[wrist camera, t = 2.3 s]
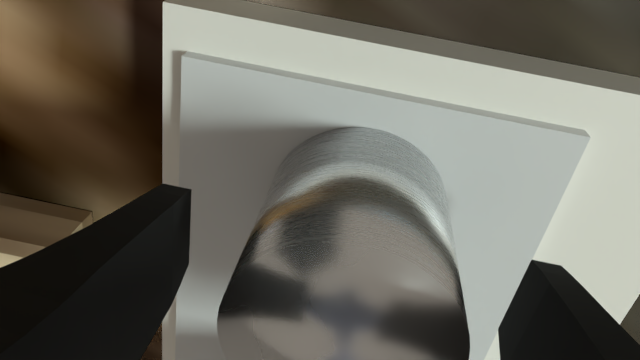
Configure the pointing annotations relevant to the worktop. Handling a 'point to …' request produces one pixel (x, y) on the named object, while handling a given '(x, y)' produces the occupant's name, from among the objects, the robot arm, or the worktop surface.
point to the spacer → (349, 259)
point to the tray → (35, 225)
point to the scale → (412, 125)
